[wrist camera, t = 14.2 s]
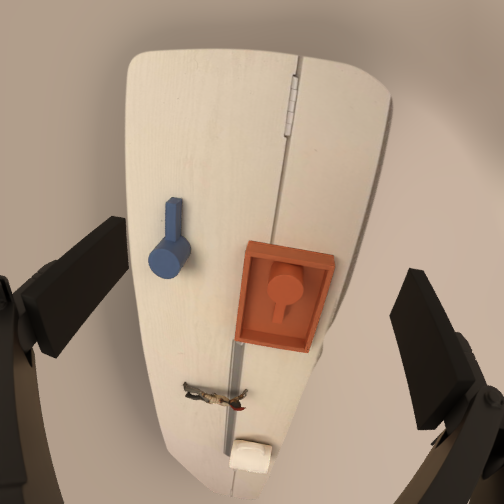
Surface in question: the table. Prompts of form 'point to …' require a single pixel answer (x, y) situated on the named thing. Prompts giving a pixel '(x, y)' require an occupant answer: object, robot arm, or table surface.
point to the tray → (261, 306)
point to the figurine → (214, 398)
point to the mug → (250, 456)
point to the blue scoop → (170, 244)
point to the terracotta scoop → (284, 287)
